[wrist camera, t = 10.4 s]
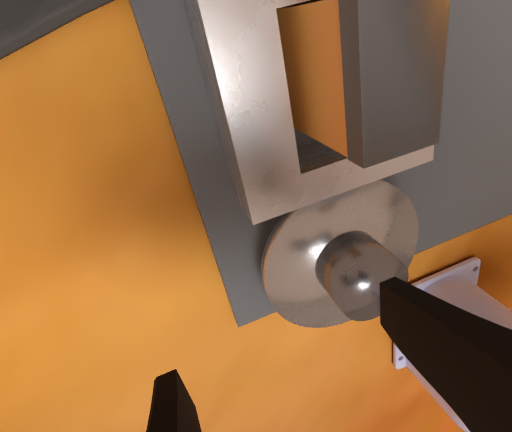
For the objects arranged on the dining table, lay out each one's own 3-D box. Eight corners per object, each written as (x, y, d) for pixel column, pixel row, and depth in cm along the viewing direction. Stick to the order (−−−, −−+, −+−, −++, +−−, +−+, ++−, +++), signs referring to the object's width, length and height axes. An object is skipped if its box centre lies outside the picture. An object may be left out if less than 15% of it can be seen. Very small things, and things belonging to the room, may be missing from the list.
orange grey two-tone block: (338, 107, 18) (439, 142, 13) (284, 124, 18) (363, 168, 12) (330, -5, 16) (453, -28, 10) (266, 9, 15) (357, -6, 9)
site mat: (521, 205, 28) (526, 208, 27) (236, 323, 23) (238, 327, 23) (623, -259, 15) (634, -265, 15) (65, -192, 11) (63, -200, 11)
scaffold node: (394, 273, 26) (447, 319, 22) (269, 325, 24) (300, 388, 20) (396, -280, 12) (536, -439, 8) (115, -255, 11) (110, -442, 6)
